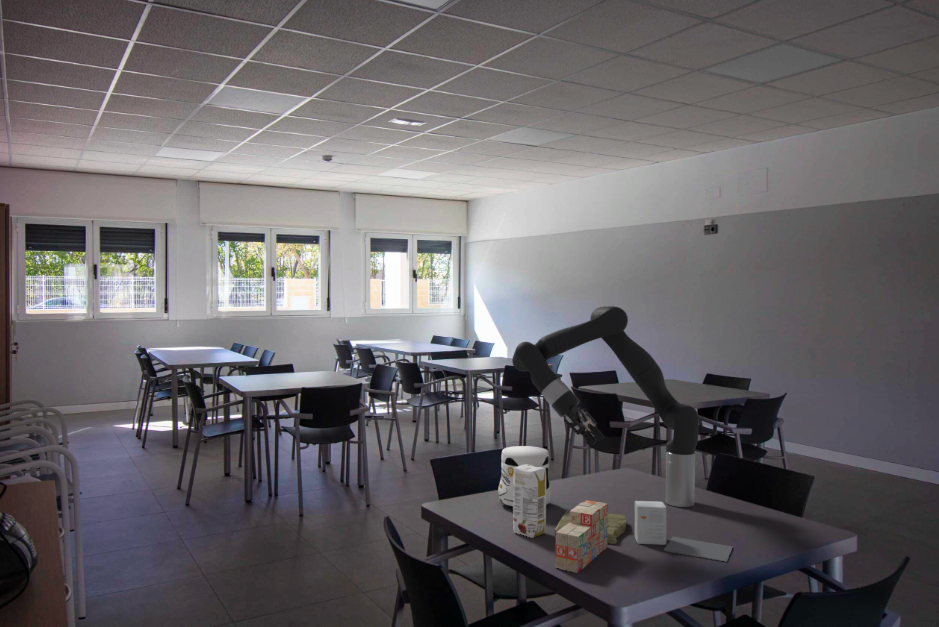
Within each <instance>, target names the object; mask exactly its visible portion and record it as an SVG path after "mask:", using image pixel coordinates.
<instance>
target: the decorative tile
mask: <svg viewBox="0 0 939 627" xmlns="http://www.w3.org/2000/svg"><path fill="white" fill-rule="evenodd" d="M571 510H572V509H567V511H565V513H564V514H563V515H562V517H561V519H560V520H559V522H558V523H557V525H556V527H555V529H554V538H556V532H557V531H558V530H560V529H561V528H562V527H564V526H566V525H567V524H568V523H570V511H571ZM607 515H608V525H607V544H612V545H616V544H617V543H618V538H620V536H621V535H622V533H623V534H624V532H626V531H625V530H626V526H627V518H626V515H625V514H616V513H607ZM617 537H618V538H617ZM616 538H617V539H616Z"/></svg>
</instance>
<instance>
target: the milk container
mask: <svg viewBox="0 0 939 627" xmlns="http://www.w3.org/2000/svg"><path fill="white" fill-rule="evenodd" d="M500 459H501V463H500V464H501V465H500V466H501V468H500V469H501V470H500V471H501V473H500V474H501V475H500V476H501V477H500V481H499V483H498V484H499V485H498V488H497V489H498V498H499V501H500V502H501V504H503V505H504V506H506V507H508V508H511V509H513V477H514V468H515V467H518V466H521V465H525V464H528V465H532V466H534V467H542V468H546V506H547V505H549V504H550V502H551V499H552V487H551V483H550V478H549V477H550V472H549V470H550V464H549V462H550V456H549V450H547V449H546V448H543V447H537V446H531V445H530V446H529V445H528V446H527V445H517V446H516V445H514V446H508V447H504V448H503V449H502V451H501V457H500Z"/></svg>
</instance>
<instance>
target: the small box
mask: <svg viewBox="0 0 939 627" xmlns="http://www.w3.org/2000/svg"><path fill="white" fill-rule="evenodd" d="M634 539H635V542H637V544H638V545H661V546H664V545H666V546H667V506H666V505H665V502H663V501H656V500H655V501H653V500H651V501H650V500H649V501H647V500H635V501H634Z"/></svg>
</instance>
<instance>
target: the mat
mask: <svg viewBox="0 0 939 627" xmlns="http://www.w3.org/2000/svg"><path fill="white" fill-rule="evenodd" d="M732 548H733V549H734V546H731V545H724V544H719V543H713V542H708V541H702V540H697V539H696V540H695V539H690V538H684V537H683V538H682V537H679V536H678V537H677V536H672V537H671V539H670V540H669V541H668V543H666V546H665V547H664V549H663V550H662V551H663V552H667V553H673V554H677V553H678V554H679V555H684V556H688V555H689V556H690V557H695V558H699V557H701V558H700V559H705V558H707V560H711V559H712V561H716V560H718V561H717V562H722V561H724V562H723V563H727V562H728V560H729V558H730V556H729V555H731V553H732V550H733V549H732ZM678 554H677V555H678Z"/></svg>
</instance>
